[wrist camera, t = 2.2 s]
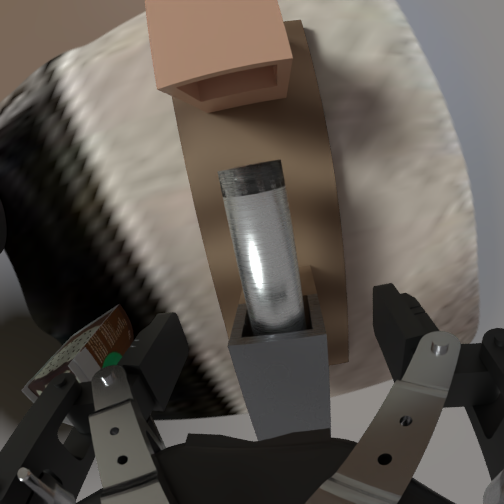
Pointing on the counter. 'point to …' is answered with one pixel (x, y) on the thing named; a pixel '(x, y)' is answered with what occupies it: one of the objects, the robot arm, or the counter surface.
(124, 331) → the food container
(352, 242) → the counter surface
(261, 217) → the tube
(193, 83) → the socket
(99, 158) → the counter surface
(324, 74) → the counter surface
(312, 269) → the dock
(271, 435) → the sleeve
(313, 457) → the robot arm
